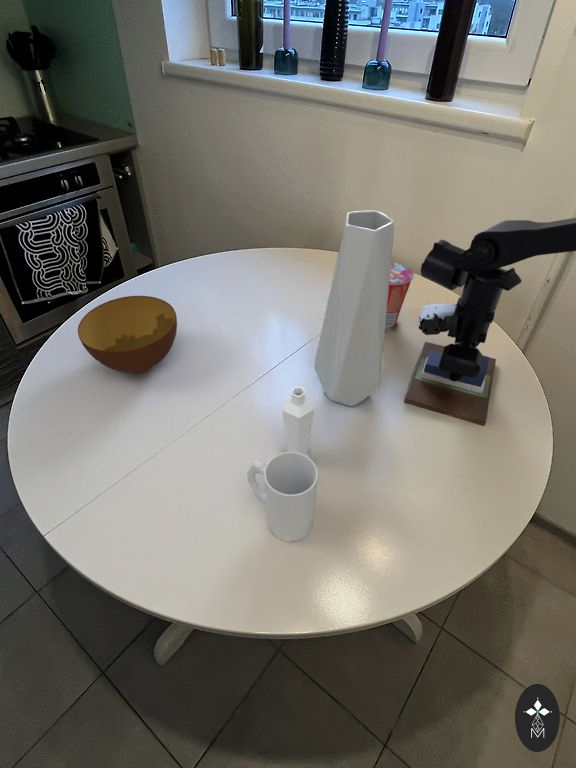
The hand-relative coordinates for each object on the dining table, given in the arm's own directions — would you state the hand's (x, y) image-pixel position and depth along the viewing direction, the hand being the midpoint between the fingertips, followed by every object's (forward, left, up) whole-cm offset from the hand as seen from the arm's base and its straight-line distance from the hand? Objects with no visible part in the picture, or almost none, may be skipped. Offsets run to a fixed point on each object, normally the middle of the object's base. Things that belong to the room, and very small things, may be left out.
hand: (454, 372), depth 84 cm
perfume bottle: (+20, +28, -3) cm, 35 cm away
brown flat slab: (0, 0, -3) cm, 3 cm away
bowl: (+58, +19, -3) cm, 61 cm away
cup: (+17, -14, -3) cm, 22 cm away
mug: (+18, +39, -3) cm, 43 cm away
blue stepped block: (0, 0, -1) cm, 1 cm away
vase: (+17, +10, -3) cm, 20 cm away
